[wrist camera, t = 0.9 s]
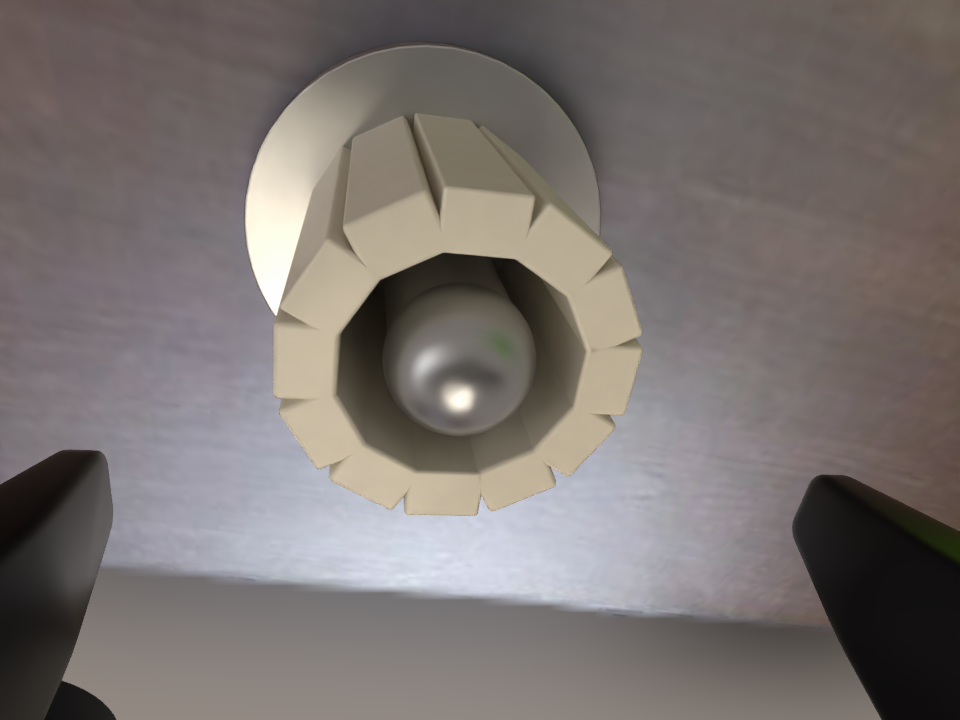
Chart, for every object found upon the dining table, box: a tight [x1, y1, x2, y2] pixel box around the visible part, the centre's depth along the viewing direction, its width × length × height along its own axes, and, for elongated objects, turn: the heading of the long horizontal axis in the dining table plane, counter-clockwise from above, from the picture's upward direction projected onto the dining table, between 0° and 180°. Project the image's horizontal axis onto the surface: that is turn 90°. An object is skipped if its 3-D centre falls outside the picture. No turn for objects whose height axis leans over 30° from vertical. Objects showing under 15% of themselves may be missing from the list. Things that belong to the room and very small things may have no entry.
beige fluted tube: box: [273, 113, 643, 516], centre depth 14 cm, size 6×6×7 cm
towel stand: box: [244, 42, 601, 436], centre depth 14 cm, size 9×9×9 cm
